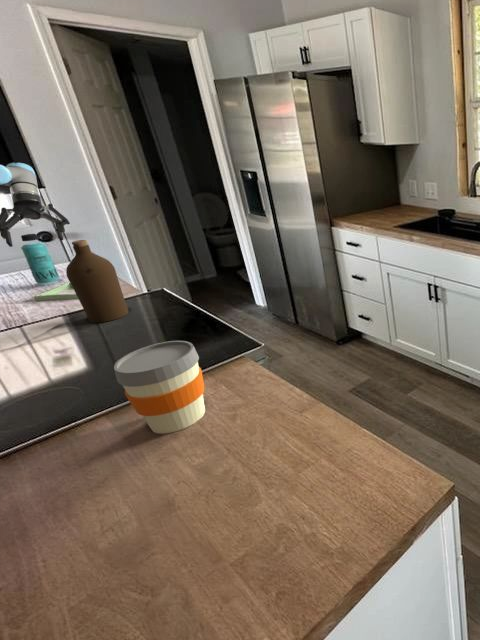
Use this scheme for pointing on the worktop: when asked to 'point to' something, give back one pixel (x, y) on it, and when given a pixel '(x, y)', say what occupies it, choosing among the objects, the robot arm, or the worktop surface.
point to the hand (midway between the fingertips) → (35, 241)
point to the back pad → (49, 294)
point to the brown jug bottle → (96, 285)
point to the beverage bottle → (39, 260)
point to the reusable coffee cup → (164, 384)
